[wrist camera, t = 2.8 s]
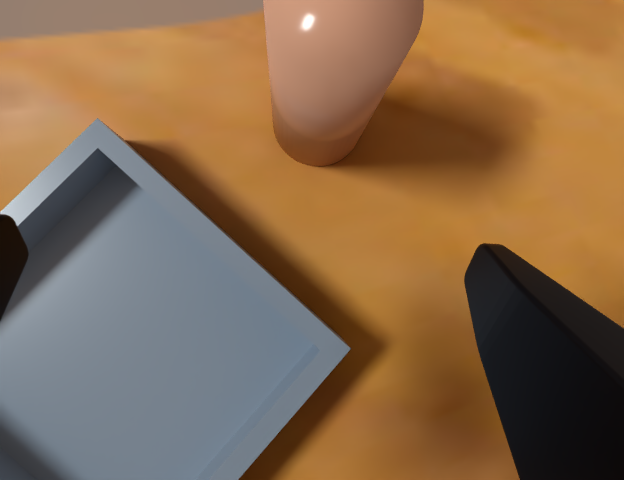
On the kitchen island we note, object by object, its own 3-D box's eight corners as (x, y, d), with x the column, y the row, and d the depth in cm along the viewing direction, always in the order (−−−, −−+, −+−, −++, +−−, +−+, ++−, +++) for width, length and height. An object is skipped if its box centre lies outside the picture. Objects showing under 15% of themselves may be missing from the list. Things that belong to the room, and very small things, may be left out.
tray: (341, 337, 21) (350, 348, 18) (130, 581, 19) (102, 637, 16) (124, 139, 21) (97, 118, 18) (-107, 366, 19) (-177, 383, 16)
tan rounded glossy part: (378, 121, 22) (455, 0, 12) (320, 184, 22) (351, 111, 12) (314, 62, 22) (338, -106, 12) (254, 124, 22) (229, 0, 12)
